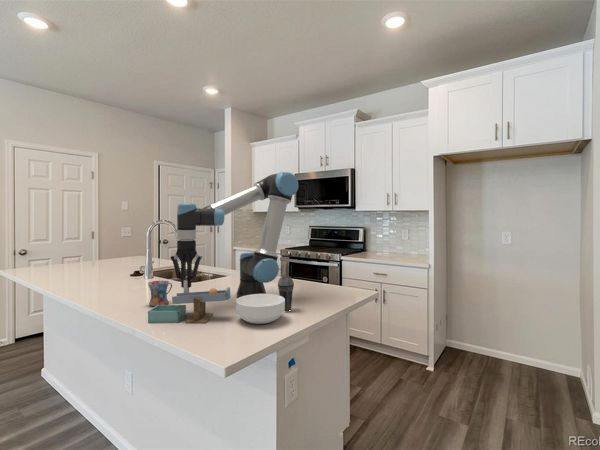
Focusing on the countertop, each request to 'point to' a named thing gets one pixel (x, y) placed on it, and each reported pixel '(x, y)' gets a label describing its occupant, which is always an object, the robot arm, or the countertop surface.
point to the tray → (166, 314)
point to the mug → (159, 292)
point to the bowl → (260, 308)
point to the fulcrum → (199, 313)
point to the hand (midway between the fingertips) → (186, 294)
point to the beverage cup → (286, 290)
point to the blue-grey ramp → (201, 296)
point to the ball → (213, 291)
